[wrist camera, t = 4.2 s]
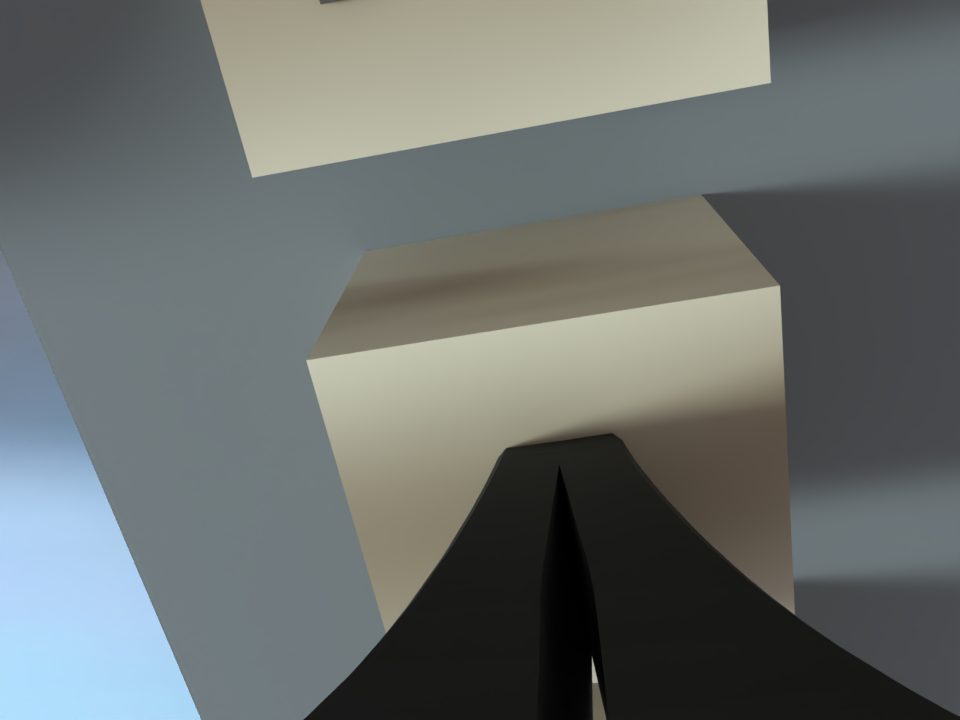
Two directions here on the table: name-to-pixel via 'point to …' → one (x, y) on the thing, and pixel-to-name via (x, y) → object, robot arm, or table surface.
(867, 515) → the mat
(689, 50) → the block numbered 7
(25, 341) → the table surface
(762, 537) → the plain block
